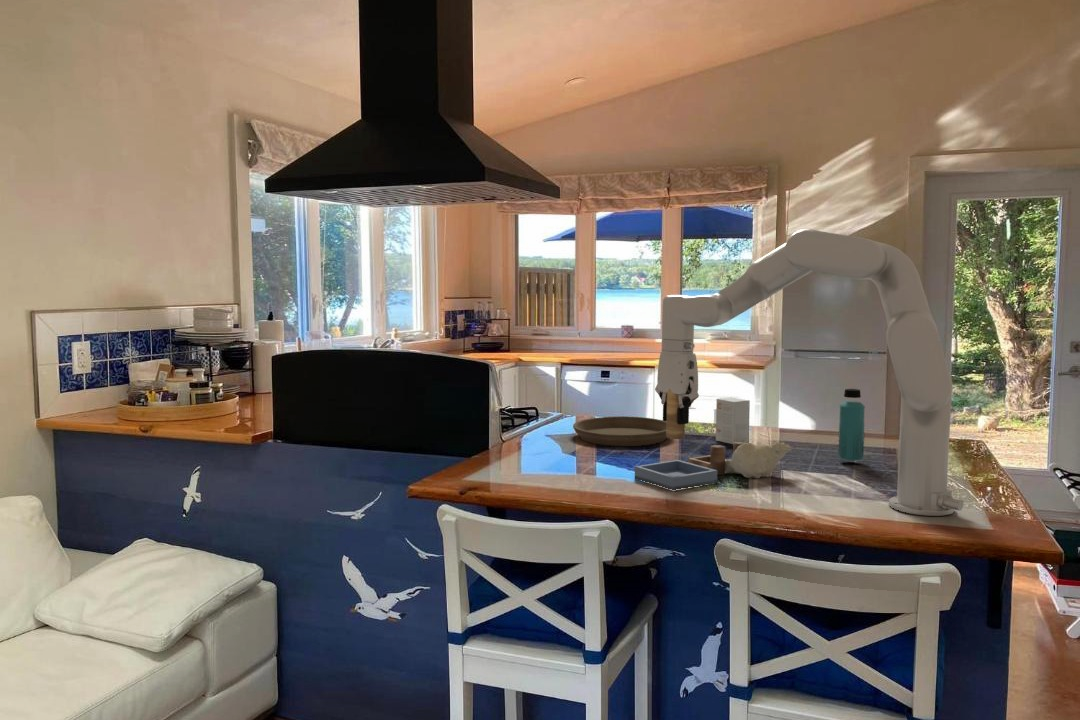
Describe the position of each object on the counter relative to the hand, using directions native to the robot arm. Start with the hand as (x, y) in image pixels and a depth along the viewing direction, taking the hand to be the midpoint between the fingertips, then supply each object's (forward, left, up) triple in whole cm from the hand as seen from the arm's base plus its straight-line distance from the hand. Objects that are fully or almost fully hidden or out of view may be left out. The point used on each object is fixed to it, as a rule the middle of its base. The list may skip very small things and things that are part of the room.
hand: (675, 421), depth 194 cm
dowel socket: (+7, -18, -15) cm, 24 cm away
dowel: (0, 0, -4) cm, 4 cm away
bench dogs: (0, -18, -15) cm, 23 cm away
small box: (+28, -48, -15) cm, 58 cm away
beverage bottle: (-10, -53, -15) cm, 56 cm away
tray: (0, 0, -15) cm, 15 cm away
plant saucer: (+51, -24, -15) cm, 58 cm away
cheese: (-6, -22, -15) cm, 27 cm away
